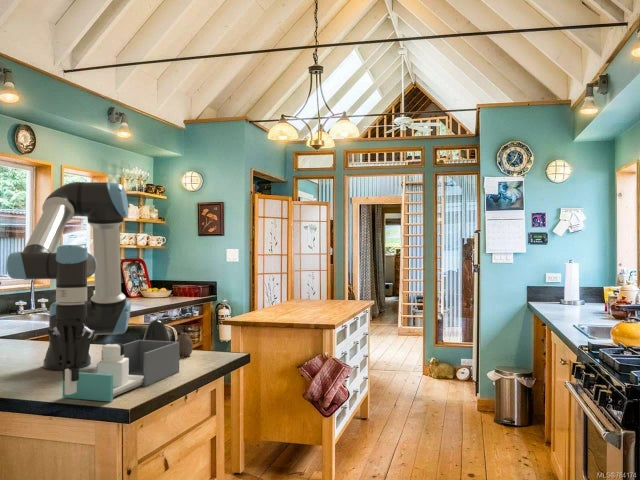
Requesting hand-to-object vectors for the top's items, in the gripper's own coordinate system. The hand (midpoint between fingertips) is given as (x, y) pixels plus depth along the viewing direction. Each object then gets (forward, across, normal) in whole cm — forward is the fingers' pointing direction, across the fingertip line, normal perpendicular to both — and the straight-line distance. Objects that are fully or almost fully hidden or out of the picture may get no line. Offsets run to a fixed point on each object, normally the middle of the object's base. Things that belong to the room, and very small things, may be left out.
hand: (70, 393), depth 143 cm
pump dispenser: (+3, -9, +56) cm, 57 cm away
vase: (+3, -4, +67) cm, 67 cm away
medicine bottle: (+2, 0, +18) cm, 18 cm away
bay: (+3, 0, +33) cm, 33 cm away
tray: (+3, 0, +17) cm, 17 cm away
